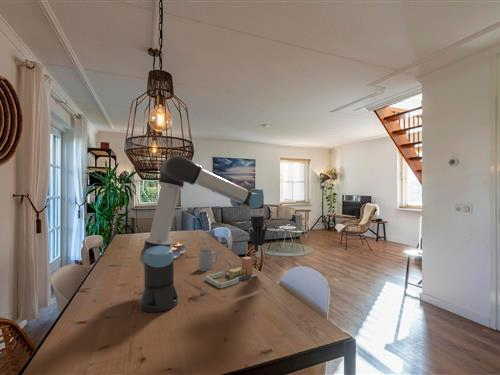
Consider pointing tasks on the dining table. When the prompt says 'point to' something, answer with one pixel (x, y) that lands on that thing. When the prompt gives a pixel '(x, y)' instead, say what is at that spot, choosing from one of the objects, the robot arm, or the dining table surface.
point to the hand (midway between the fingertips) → (258, 256)
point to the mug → (206, 259)
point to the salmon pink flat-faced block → (247, 264)
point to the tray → (220, 285)
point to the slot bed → (241, 276)
